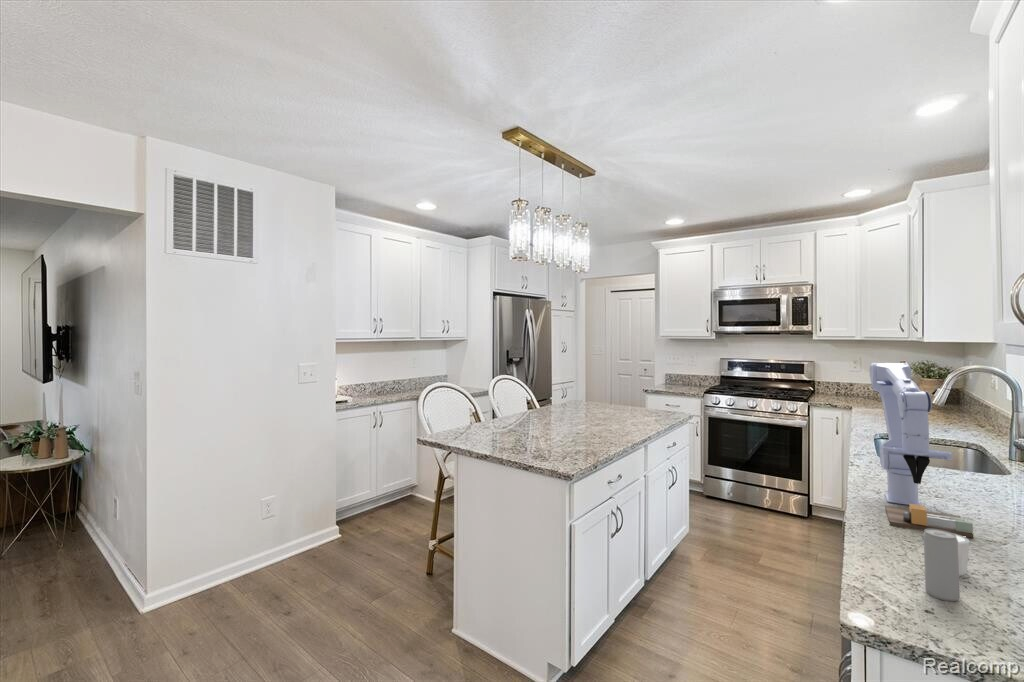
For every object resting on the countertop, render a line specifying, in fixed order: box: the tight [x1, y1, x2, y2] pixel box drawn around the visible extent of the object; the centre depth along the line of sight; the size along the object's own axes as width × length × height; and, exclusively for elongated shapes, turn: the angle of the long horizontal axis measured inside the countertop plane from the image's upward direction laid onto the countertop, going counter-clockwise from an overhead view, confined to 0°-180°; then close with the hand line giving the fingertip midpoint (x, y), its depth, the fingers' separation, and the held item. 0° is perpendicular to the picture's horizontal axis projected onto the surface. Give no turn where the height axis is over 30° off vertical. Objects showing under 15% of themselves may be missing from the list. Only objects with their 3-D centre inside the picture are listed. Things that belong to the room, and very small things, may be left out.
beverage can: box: [923, 529, 961, 603], centre depth 88 cm, size 5×5×12 cm
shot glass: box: [953, 533, 971, 576], centre depth 99 cm, size 7×7×7 cm
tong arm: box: [927, 514, 966, 521], centre depth 120 cm, size 2×10×2 cm, turn 59°
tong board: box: [884, 504, 974, 539], centre depth 124 cm, size 15×16×3 cm
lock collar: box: [908, 504, 928, 526], centre depth 121 cm, size 4×3×4 cm
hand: (917, 482), depth 129 cm, fingers closed
